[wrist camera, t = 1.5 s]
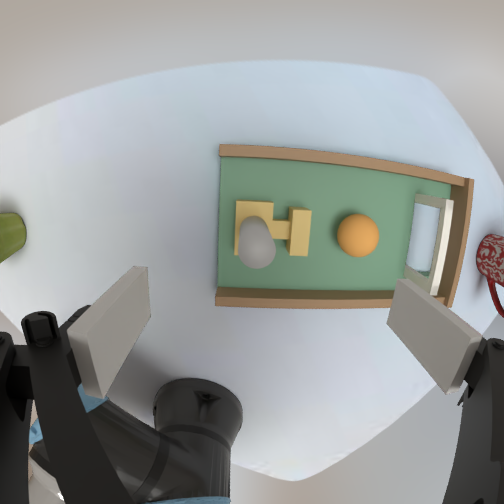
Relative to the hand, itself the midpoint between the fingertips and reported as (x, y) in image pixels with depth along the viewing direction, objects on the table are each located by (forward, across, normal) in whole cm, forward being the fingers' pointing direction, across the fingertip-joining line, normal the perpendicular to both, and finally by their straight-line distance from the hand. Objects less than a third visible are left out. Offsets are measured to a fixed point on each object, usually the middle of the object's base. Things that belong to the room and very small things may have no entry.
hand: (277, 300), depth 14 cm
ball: (+18, +12, 0) cm, 21 cm away
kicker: (+20, +1, 0) cm, 20 cm away
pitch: (+23, +12, 0) cm, 25 cm away
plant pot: (+23, -39, -2) cm, 45 cm away
